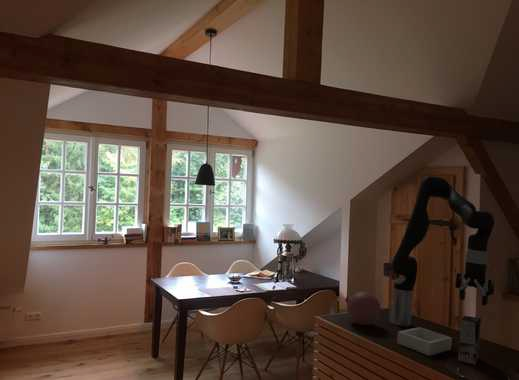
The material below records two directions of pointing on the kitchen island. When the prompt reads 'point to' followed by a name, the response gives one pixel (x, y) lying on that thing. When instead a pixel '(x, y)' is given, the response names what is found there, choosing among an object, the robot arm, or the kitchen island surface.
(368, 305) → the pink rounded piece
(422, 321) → the kitchen island surface
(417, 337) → the carton dock
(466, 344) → the coffee box
